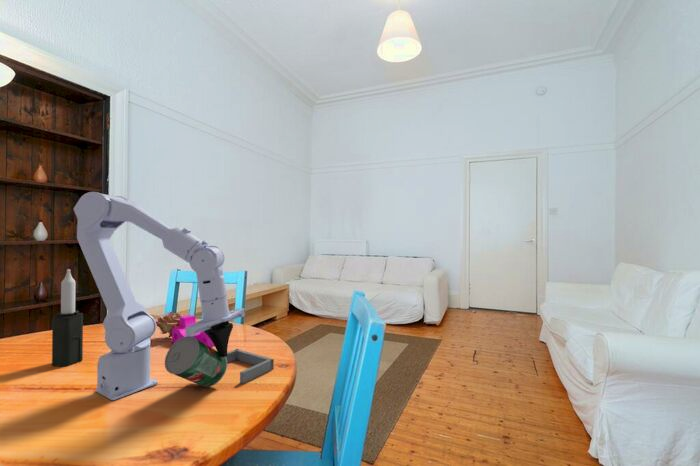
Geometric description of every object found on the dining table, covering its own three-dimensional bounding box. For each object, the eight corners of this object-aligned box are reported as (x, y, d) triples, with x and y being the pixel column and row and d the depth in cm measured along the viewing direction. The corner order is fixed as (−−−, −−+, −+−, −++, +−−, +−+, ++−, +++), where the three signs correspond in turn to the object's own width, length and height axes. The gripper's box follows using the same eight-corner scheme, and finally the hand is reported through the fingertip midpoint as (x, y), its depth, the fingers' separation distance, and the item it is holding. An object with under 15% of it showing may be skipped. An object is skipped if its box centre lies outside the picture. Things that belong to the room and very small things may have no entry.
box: (242, 383, 77) (243, 373, 77) (205, 370, 84) (205, 360, 84) (273, 368, 86) (273, 359, 86) (236, 357, 93) (237, 348, 93)
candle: (65, 367, 85) (66, 270, 85) (49, 365, 86) (50, 269, 86) (84, 359, 90) (85, 268, 90) (69, 358, 91) (70, 267, 91)
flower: (156, 334, 113) (157, 311, 113) (186, 331, 116) (187, 309, 116) (153, 343, 104) (153, 318, 104) (186, 339, 108) (186, 315, 108)
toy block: (171, 342, 106) (172, 318, 106) (190, 337, 111) (190, 314, 111) (200, 351, 98) (200, 326, 98) (218, 345, 103) (218, 321, 103)
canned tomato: (228, 348, 80) (200, 331, 72) (226, 381, 75) (196, 367, 67) (198, 357, 81) (168, 341, 73) (194, 391, 76) (161, 378, 67)
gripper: (195, 307, 68) (205, 372, 68) (249, 290, 80) (258, 345, 80) (175, 307, 71) (185, 368, 72) (230, 291, 84) (238, 343, 84)
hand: (222, 356), depth 76 cm, fingers closed, pressing on canned tomato
